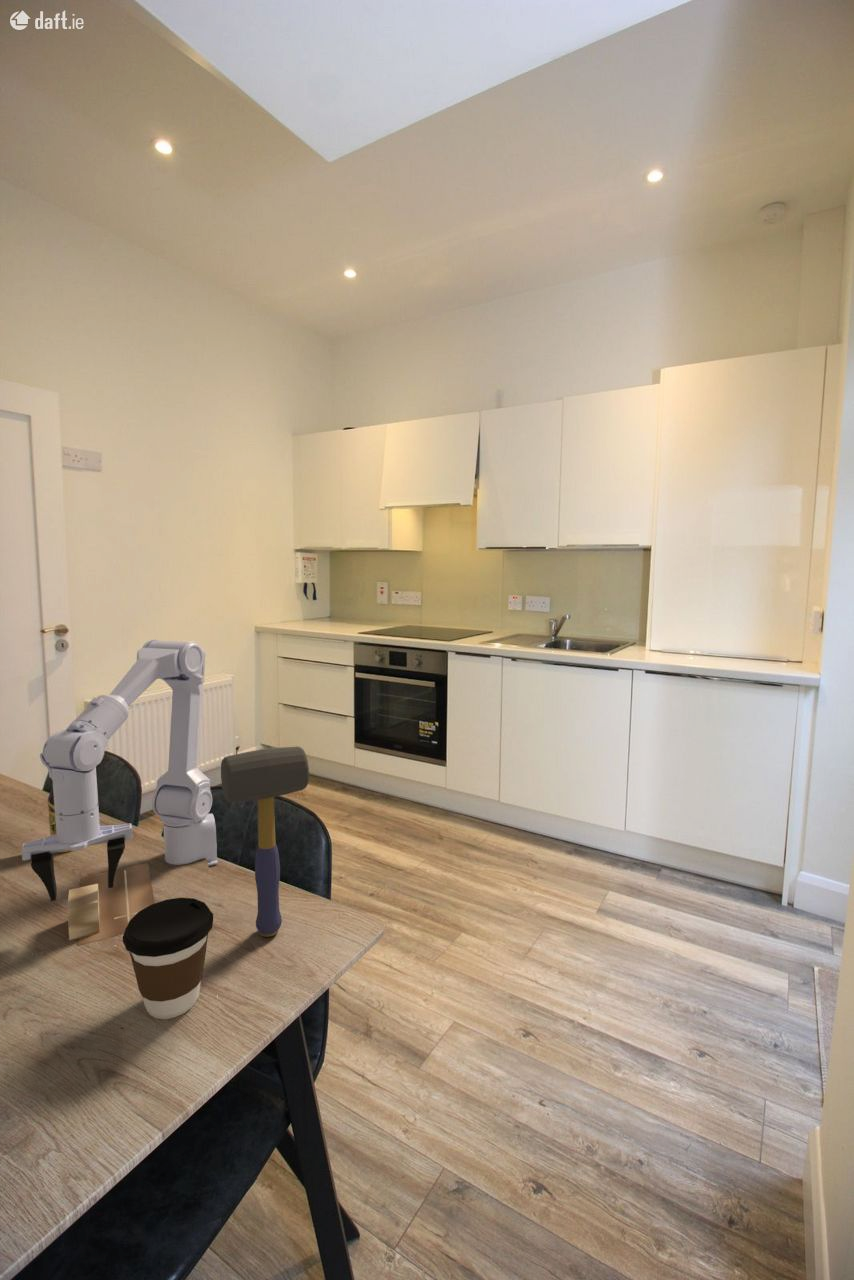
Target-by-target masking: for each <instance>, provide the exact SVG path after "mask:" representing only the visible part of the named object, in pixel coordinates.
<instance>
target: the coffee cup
mask: <svg viewBox="0 0 854 1280" xmlns="http://www.w3.org/2000/svg"><path fill="white" fill-rule="evenodd" d="M213 924H214V913H213V912H212V910H211V909H210V908H209V906H208V905H207V904H206V903H205V902H204V901H202V900H199V899H196V898H192V897H175V898H169V899H164V900H161V901H159V902H155V904H152V905H150V906H148V907H146V908H144V909H143V910H141V911H139V912H138V913H137V914H136V915H135V916H134V917H133V918H132V919H131V920H130V921H129V923H128V926H127V927H126V929H125V932H124V934H122V935H123V936H122V943H123V946H124V947H125V950H126V951H128V952H129V955H130V959H131V964H132V966H133V967H132V968H133V972H134V976H135V978H136V979H135V980H136V982H137V983H136V984H137V987H138V990H139V993H140V995H141V997H142V1000H143V1005H144V1007H145V1010H146V1012H147V1013H148V1014H149V1015H150V1016H151V1017H153V1018H155V1019H157V1020H158V1019H159V1020H160V1019H161V1020H168V1019H175V1018H177V1017H179V1016H180V1015H183V1014H185V1013H186V1012H188V1011H189V1010H190V1009H191V1008H193V1006H194V1004H195V1003H196V1002H197V1000H198V998H199V996H200V990H201V981H202V980H203V978H204V977H203V976H204V969H205V962H206V955H207V953H206V952H207V948H208V947H207V945H208V938H209V933H210V932H211V930H212V928H213V927H214V926H213Z"/></svg>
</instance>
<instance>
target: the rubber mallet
mask: <svg viewBox="0 0 854 1280" xmlns="http://www.w3.org/2000/svg"><path fill="white" fill-rule="evenodd" d="M309 769H310V768H309V761H308V757H307V754H306V752H305V750H304V749H303V748H302V747H301V746H286V747H272V748H263V749H257V750H251V751H246V752H240V753H236V754H231V755H226V756H225V757H224V758H223V759H222V760H221V763H220V781H221V782H220V783H221V789H222V794H223V797H224V800H225V801H226V802H227V803H231V804H232V803H241V802H250V801H257V834H258V835H257V836H258V837H257V838H258V840H257V841H258V845H257V848H256V850H255V851H256V853H255V861H254V864H255V865H254V877H255V884H256V885H255V886H256V892H257V895H256V896H257V915H256V918H255V927H256V929H257V931H258V933H259V935H260V936H262V937H266V938H269V937H272V936H275V935H277V934H278V932H279V930H280V928H281V926H282V923H283V921H282V920H283V917H282V914H281V911H280V895H279V894H280V892H279V891H280V889H279V888H280V881H281V880H280V878H281V867H280V866H281V864H280V863H281V862H280V855H279V848H278V846H277V844H276V825H275V822H276V821H275V819H276V818H275V817H276V816H275V798H276V797H279V796H284V795H288V794H292V793H296V792H299V791H303V790H305V789H306V788H307V787H308V784H309V778H310V770H309Z"/></svg>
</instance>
